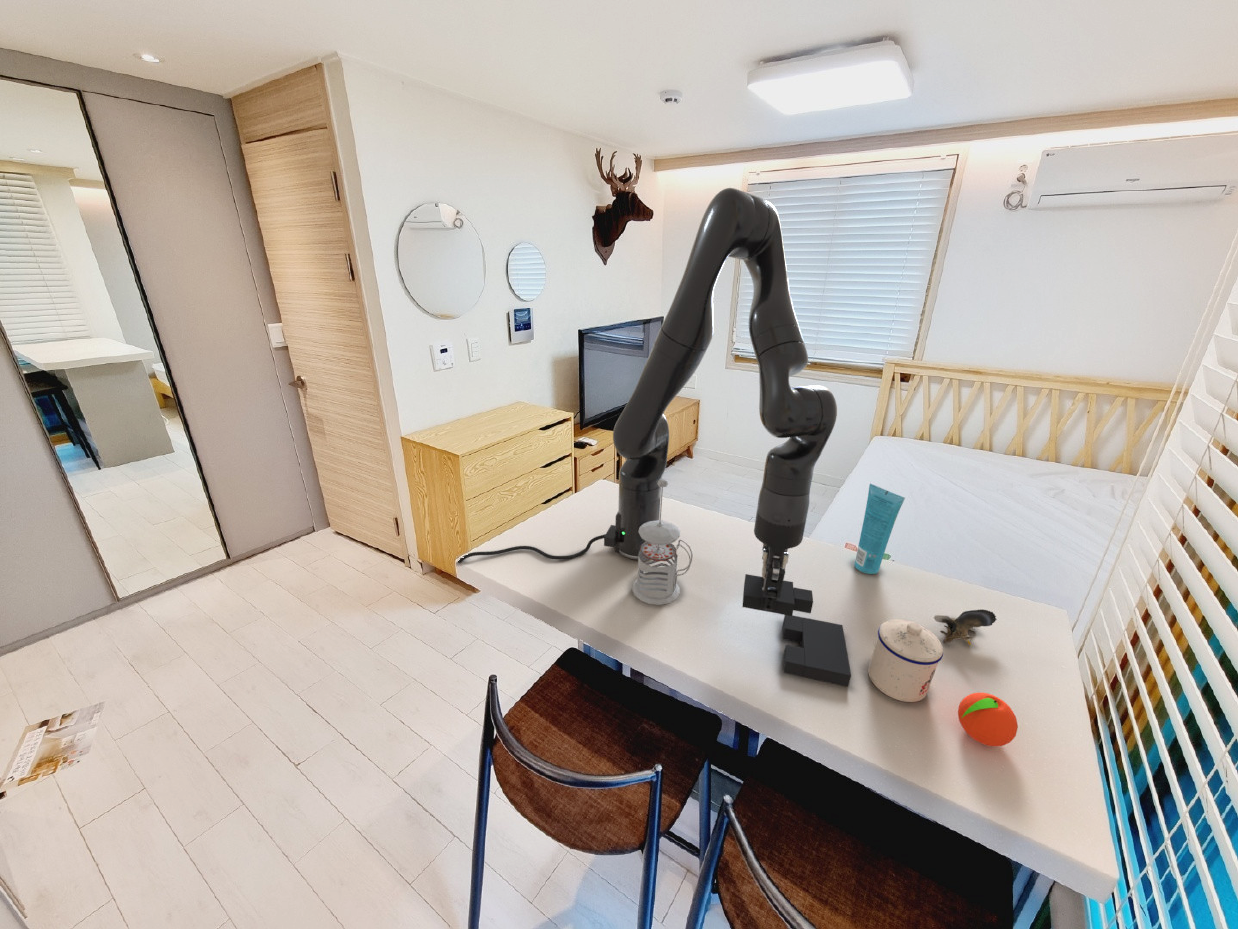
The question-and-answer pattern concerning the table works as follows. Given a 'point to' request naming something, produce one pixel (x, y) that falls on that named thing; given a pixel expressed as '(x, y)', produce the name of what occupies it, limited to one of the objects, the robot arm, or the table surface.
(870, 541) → the tube
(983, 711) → the clementine
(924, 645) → the teacup with lid
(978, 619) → the eagle figurine
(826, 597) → the table surface
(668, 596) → the french press
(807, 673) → the large pad
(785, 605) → the small pad
